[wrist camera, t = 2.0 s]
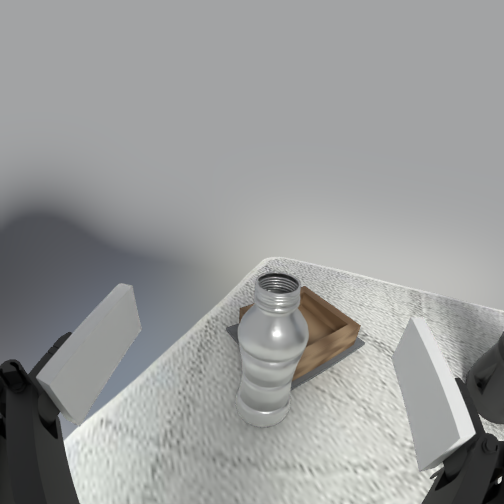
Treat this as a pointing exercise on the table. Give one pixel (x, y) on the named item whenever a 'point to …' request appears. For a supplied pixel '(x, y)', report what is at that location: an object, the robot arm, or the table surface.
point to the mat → (358, 343)
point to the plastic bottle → (270, 349)
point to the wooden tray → (321, 331)
